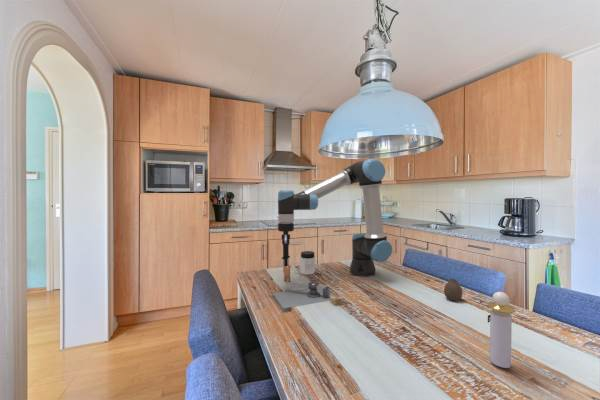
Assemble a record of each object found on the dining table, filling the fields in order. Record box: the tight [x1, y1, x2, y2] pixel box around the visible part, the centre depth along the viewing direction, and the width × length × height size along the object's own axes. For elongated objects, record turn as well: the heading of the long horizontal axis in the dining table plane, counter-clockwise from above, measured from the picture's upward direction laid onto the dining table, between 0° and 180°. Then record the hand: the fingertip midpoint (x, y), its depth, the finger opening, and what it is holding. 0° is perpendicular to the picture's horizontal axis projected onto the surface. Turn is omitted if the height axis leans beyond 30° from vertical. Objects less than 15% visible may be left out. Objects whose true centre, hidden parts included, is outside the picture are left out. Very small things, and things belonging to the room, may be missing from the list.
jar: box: [299, 250, 316, 276], centre depth 154 cm, size 9×8×12 cm
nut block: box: [329, 294, 344, 307], centre depth 108 cm, size 4×4×4 cm
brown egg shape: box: [443, 278, 463, 302], centre depth 114 cm, size 7×7×9 cm
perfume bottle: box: [487, 291, 516, 369], centre depth 70 cm, size 6×6×20 cm
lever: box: [283, 264, 331, 297], centre depth 118 cm, size 22×4×11 cm, turn 67°
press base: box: [272, 287, 335, 313], centre depth 116 cm, size 25×17×4 cm
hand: (285, 271), depth 125 cm, fingers closed
